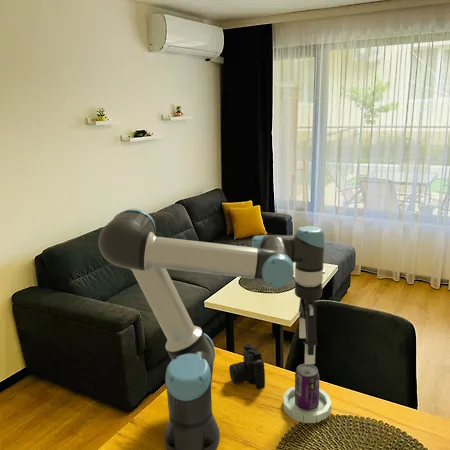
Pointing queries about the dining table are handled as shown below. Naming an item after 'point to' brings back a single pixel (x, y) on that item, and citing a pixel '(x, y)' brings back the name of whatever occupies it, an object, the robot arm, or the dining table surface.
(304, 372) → the beverage can
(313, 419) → the tray
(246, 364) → the camera
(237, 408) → the dining table surface
